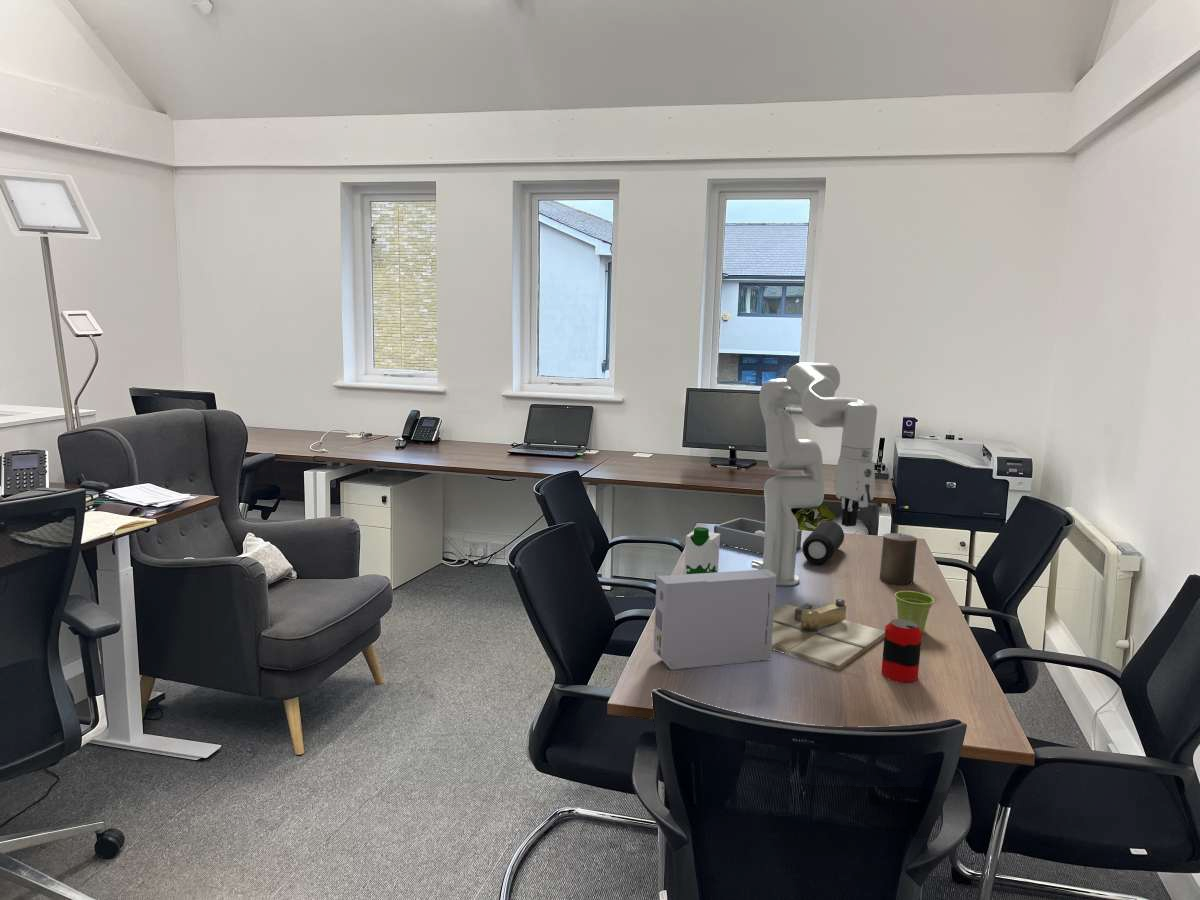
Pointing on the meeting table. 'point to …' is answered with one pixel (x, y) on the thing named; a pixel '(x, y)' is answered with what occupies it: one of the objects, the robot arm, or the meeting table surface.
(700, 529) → the milk carton
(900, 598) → the plant pot
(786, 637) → the lock board
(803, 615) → the swing bar
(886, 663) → the soda can
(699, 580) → the game console
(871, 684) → the meeting table surface
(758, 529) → the organiser frame
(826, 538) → the portable speaker
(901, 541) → the pillar candle
